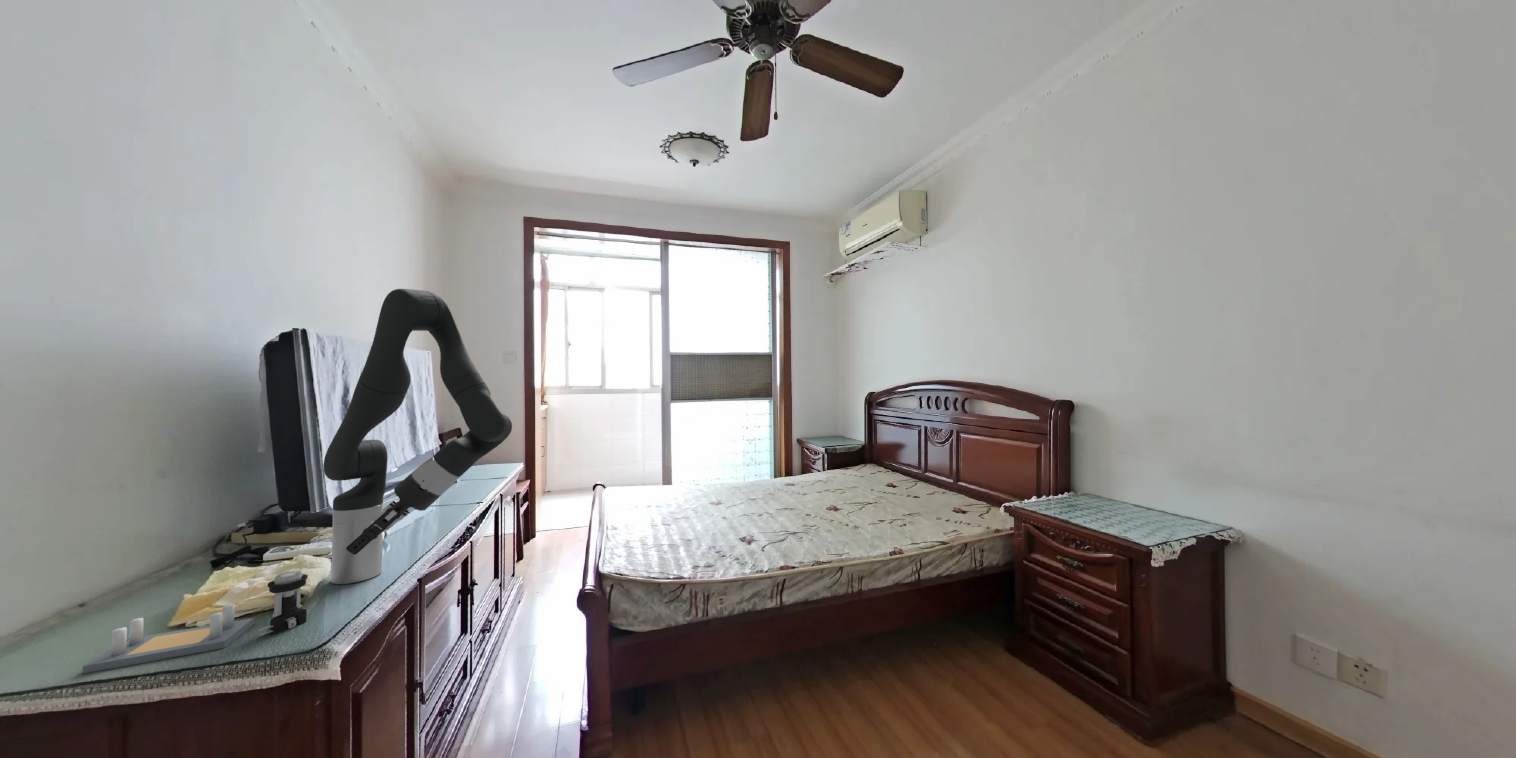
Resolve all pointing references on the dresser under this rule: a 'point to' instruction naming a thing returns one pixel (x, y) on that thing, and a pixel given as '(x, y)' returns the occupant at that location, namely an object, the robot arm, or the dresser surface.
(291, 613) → the push button
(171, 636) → the pin tray
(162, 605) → the dresser surface
